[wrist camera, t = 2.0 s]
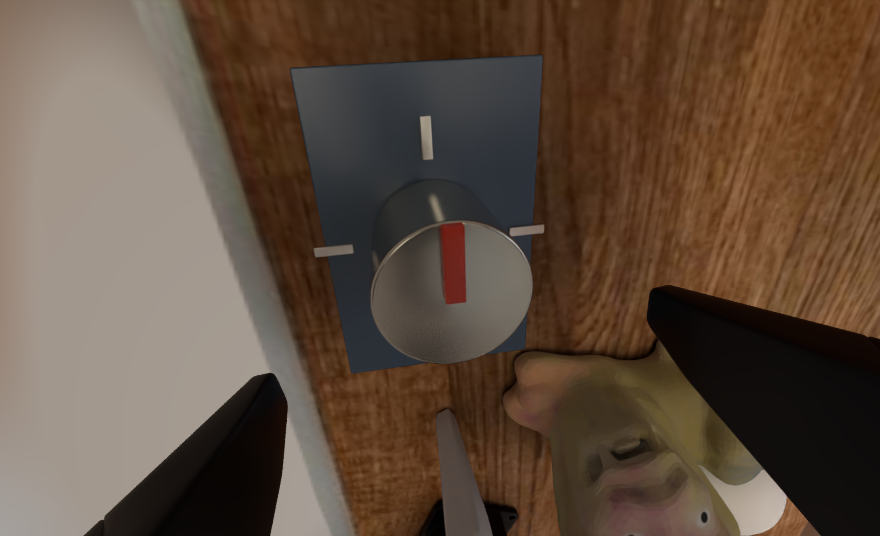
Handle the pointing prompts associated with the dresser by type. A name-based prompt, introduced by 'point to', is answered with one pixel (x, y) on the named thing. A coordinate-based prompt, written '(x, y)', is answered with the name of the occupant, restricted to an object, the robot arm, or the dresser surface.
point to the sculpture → (629, 445)
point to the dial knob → (445, 275)
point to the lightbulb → (752, 502)
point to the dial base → (414, 162)
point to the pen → (458, 482)
